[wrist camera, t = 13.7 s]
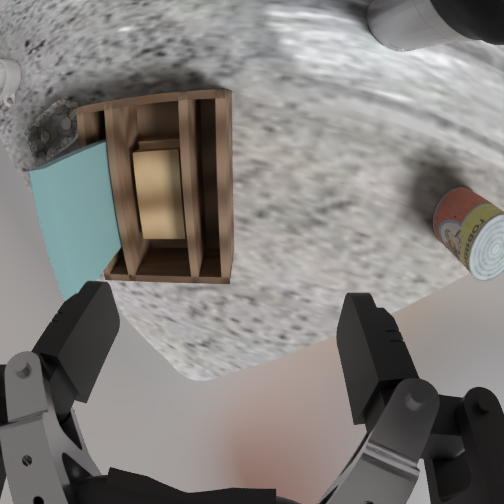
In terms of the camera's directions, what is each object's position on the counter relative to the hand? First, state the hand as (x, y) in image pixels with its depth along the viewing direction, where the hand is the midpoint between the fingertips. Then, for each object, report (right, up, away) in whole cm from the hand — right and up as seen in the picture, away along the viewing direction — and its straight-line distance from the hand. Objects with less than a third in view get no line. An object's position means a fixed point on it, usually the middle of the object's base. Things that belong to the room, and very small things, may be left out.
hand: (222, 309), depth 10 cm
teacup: (-40, +31, +24) cm, 56 cm away
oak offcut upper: (-11, +10, +30) cm, 33 cm away
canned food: (+37, +8, +35) cm, 52 cm away
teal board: (-17, +12, +31) cm, 38 cm away
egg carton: (-29, +21, +29) cm, 46 cm away
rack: (-11, +13, +33) cm, 37 cm away
